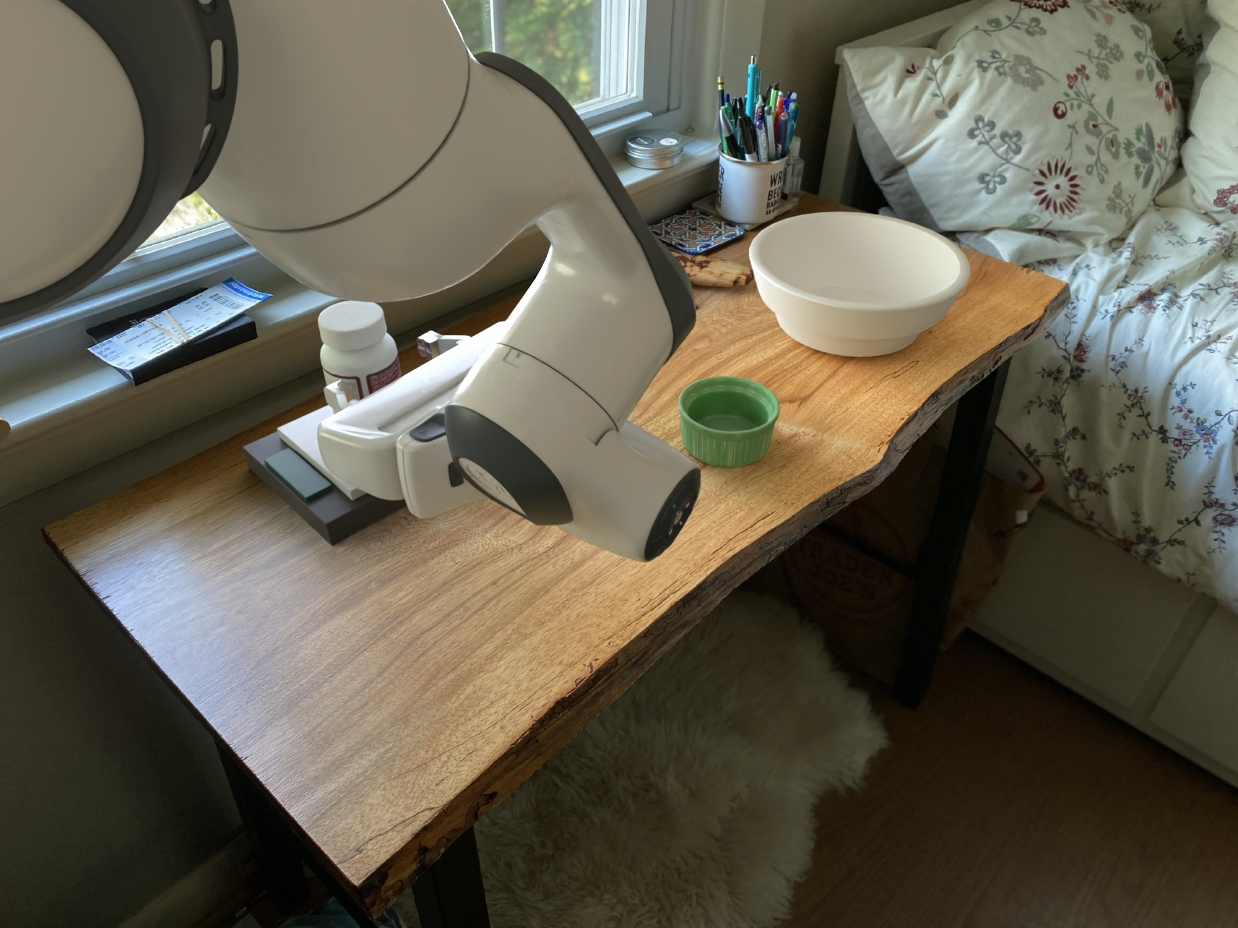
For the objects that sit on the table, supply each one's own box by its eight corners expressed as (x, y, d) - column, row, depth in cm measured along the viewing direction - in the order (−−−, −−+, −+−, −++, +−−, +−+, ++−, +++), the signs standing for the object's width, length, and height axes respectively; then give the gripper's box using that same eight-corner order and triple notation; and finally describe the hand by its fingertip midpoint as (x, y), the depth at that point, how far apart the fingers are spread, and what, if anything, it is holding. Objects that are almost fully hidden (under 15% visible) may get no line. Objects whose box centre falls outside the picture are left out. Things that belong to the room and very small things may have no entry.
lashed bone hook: (587, 291, 109) (734, 319, 103) (585, 255, 106) (736, 281, 100) (620, 256, 115) (760, 280, 109) (618, 221, 112) (762, 244, 106)
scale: (332, 546, 75) (323, 514, 72) (249, 468, 82) (239, 437, 80) (490, 459, 83) (486, 429, 81) (401, 396, 91) (396, 367, 89)
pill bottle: (408, 405, 84) (389, 292, 77) (411, 445, 79) (391, 329, 72) (338, 413, 83) (312, 300, 76) (337, 455, 78) (309, 338, 71)
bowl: (873, 264, 113) (885, 198, 108) (998, 355, 97) (1020, 282, 92) (707, 299, 106) (711, 230, 101) (812, 402, 90) (823, 327, 85)
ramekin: (657, 450, 84) (658, 410, 82) (707, 403, 90) (709, 364, 87) (745, 486, 80) (750, 445, 78) (791, 434, 86) (797, 394, 83)
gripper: (593, 334, 73) (468, 282, 80) (390, 461, 60) (263, 387, 67) (594, 400, 77) (475, 346, 83) (405, 533, 64) (283, 456, 71)
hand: (379, 365), depth 75 cm, fingers open, 8 cm apart
